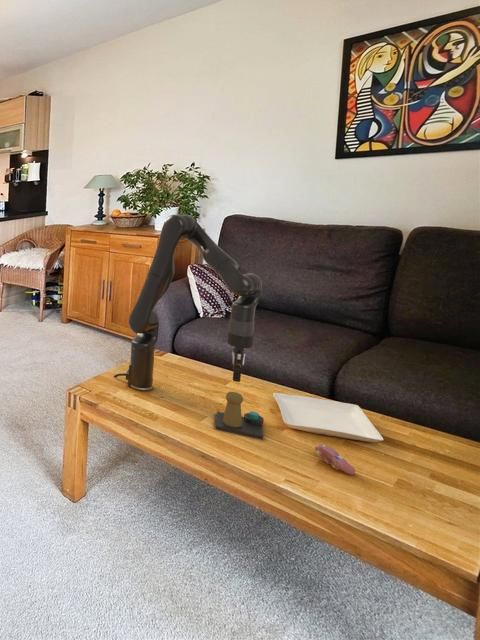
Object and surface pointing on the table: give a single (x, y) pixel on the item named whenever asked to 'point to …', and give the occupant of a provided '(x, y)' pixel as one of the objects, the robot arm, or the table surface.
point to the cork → (233, 410)
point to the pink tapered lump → (334, 459)
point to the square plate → (326, 417)
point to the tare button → (253, 415)
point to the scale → (247, 429)
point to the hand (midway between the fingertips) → (236, 376)
